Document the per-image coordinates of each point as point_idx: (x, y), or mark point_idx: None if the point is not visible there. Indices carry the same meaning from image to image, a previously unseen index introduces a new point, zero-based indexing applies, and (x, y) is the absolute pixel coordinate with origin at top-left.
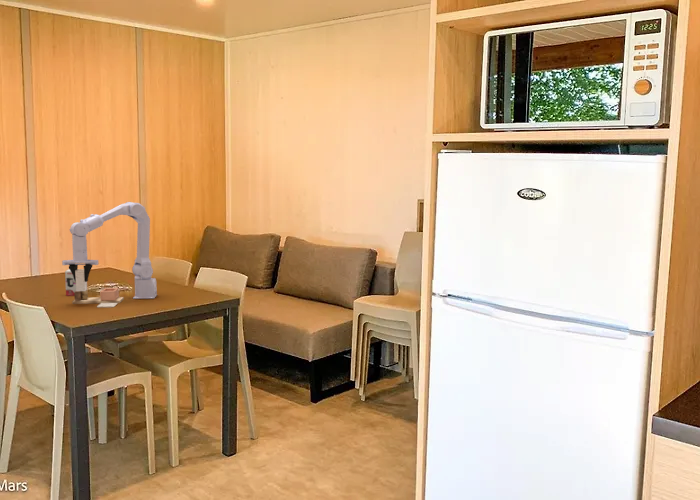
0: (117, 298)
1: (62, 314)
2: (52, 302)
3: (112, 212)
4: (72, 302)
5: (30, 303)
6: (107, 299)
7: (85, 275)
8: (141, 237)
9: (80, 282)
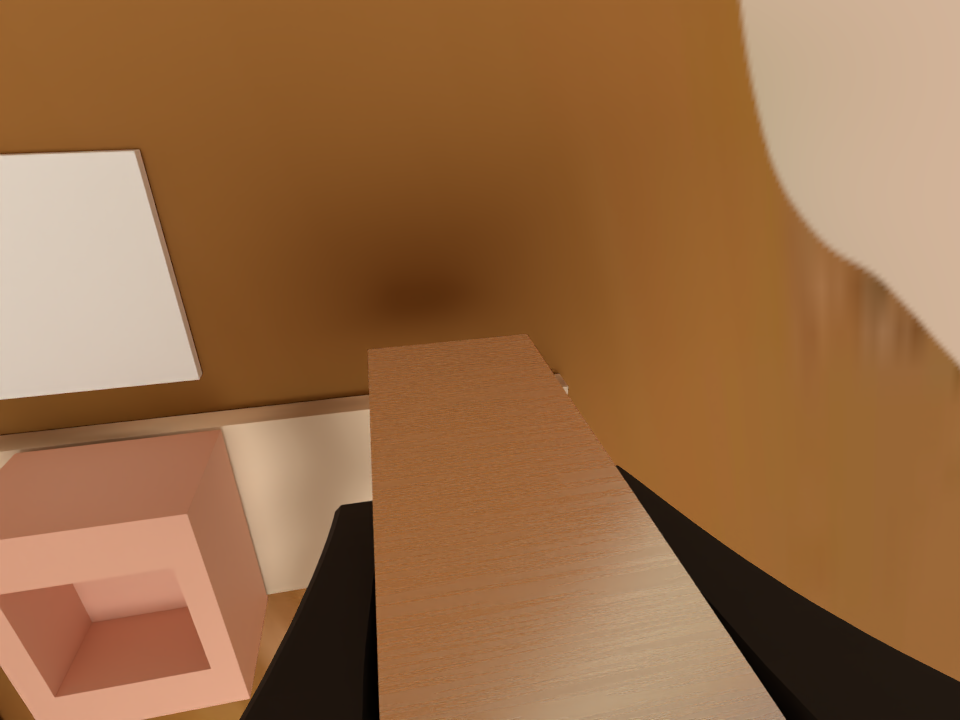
0: None
1: None
2: (760, 416)
3: None
4: (563, 380)
5: (939, 365)
6: (118, 448)
7: (335, 637)
8: None
9: (474, 438)
